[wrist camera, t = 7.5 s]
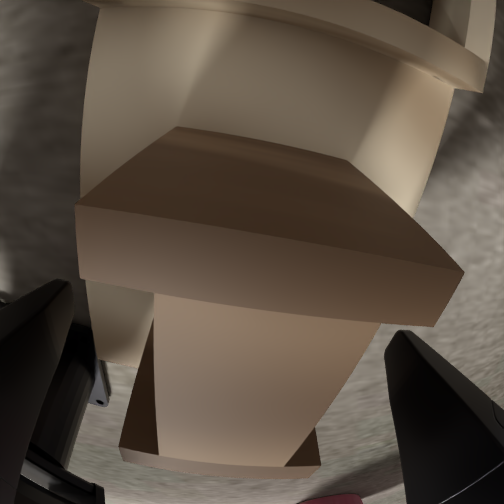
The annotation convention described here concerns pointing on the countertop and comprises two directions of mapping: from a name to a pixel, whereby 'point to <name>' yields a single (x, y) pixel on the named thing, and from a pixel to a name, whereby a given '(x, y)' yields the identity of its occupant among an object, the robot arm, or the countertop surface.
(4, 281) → the countertop surface
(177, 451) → the wooden divided tray
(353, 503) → the plant pot
